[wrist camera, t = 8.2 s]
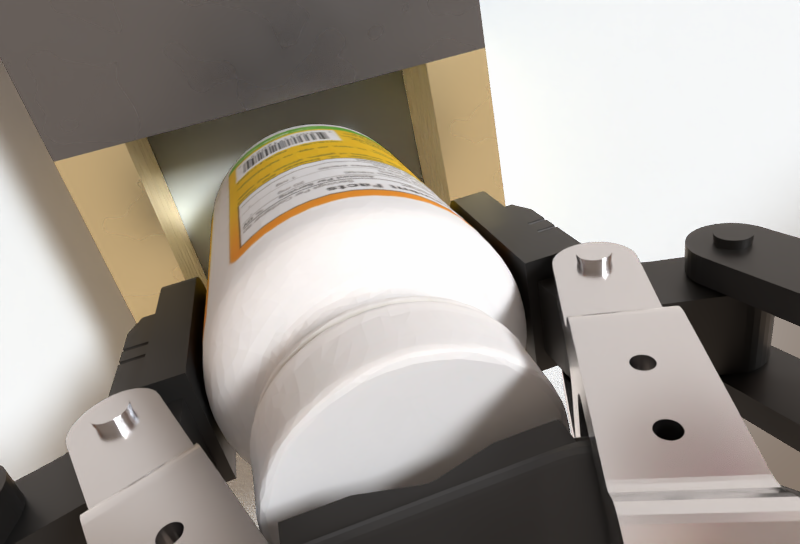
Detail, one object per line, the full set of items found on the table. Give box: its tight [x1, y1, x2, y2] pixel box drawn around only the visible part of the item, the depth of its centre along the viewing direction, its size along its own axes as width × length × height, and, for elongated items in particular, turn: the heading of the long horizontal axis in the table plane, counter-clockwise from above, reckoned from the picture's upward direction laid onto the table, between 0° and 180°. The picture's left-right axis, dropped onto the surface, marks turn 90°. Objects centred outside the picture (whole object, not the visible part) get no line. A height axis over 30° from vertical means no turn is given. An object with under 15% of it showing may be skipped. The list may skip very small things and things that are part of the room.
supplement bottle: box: [203, 124, 570, 544], centre depth 11 cm, size 5×5×10 cm
